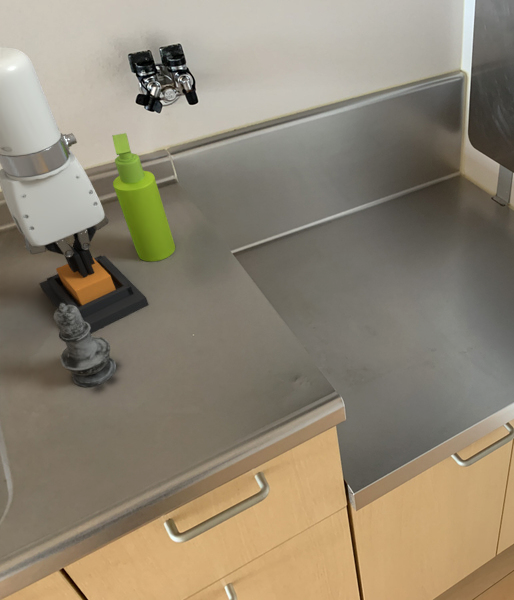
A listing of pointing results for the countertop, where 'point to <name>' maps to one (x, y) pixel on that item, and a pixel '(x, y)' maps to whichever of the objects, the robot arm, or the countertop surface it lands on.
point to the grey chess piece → (83, 349)
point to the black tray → (100, 298)
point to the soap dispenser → (141, 204)
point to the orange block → (86, 283)
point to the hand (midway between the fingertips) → (85, 271)
